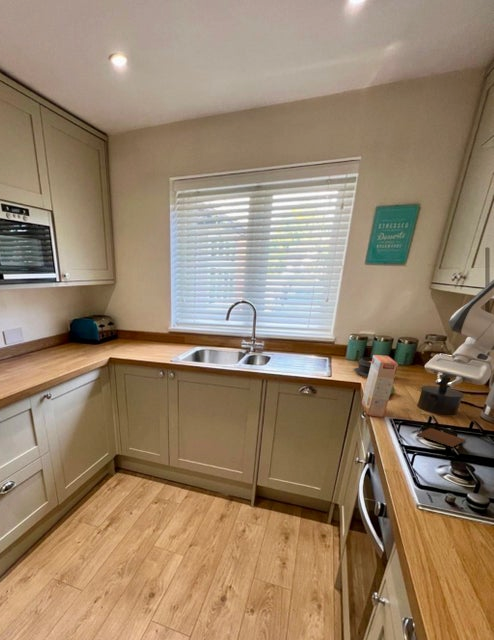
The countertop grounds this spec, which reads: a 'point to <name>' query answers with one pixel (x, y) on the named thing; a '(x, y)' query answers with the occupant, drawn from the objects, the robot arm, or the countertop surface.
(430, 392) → the lid
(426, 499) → the countertop surface
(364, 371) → the dark grey rounded piece
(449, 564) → the countertop surface
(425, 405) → the pot
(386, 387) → the cracker box
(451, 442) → the plate
